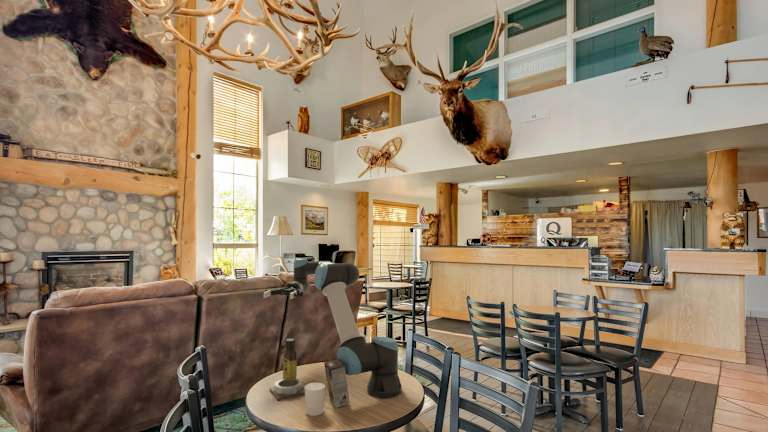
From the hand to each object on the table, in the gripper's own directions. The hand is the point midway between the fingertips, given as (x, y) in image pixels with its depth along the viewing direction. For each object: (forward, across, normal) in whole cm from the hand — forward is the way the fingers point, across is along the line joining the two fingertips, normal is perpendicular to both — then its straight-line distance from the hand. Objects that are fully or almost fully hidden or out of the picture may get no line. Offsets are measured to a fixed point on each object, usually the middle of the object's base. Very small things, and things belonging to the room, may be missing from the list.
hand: (277, 295), depth 200 cm
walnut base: (+18, -14, -39) cm, 45 cm away
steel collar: (+18, -14, -39) cm, 45 cm away
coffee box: (+24, -38, -38) cm, 60 cm away
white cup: (+34, -31, -39) cm, 61 cm away
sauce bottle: (+7, -10, -39) cm, 41 cm away
